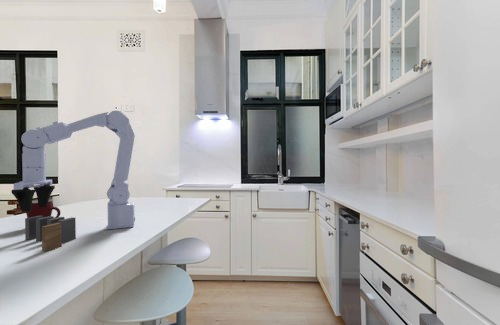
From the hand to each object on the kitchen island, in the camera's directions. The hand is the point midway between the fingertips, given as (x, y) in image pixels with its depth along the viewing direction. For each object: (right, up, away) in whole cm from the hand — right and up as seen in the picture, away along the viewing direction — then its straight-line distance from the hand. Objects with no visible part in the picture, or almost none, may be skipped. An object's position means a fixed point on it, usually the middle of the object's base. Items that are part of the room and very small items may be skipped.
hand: (35, 209), depth 81 cm
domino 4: (+13, -10, -9) cm, 18 cm away
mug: (-10, -10, +15) cm, 21 cm away
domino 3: (+3, -10, 0) cm, 10 cm away
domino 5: (+12, -10, -2) cm, 15 cm away
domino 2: (+7, -10, -1) cm, 12 cm away
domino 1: (-1, -10, +1) cm, 10 cm away
